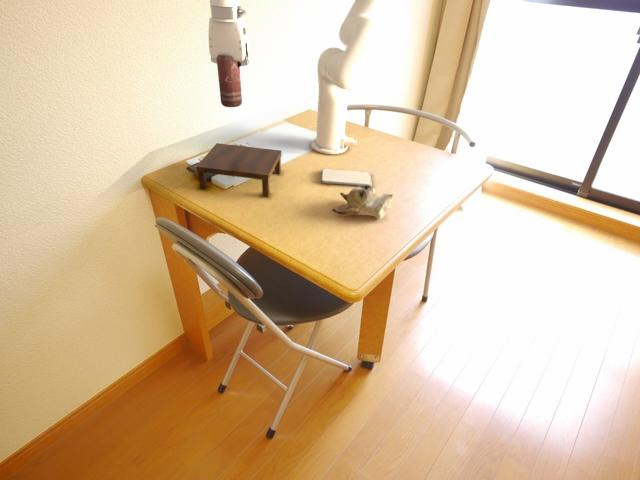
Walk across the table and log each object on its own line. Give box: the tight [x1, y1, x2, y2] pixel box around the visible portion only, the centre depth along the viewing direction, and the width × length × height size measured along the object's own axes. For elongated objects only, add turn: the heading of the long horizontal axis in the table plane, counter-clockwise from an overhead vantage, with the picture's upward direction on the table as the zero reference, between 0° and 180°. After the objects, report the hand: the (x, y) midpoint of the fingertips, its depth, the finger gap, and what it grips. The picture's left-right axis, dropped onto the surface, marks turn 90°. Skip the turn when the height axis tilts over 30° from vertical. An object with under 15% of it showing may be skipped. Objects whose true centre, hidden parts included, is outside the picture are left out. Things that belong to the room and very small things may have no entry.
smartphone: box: [320, 168, 373, 187], centre depth 123 cm, size 8×1×15 cm
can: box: [216, 55, 243, 108], centre depth 116 cm, size 6×6×14 cm
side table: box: [195, 142, 282, 198], centre depth 117 cm, size 20×16×7 cm
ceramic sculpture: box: [330, 185, 394, 221], centre depth 106 cm, size 11×9×15 cm
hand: (231, 85), depth 117 cm, fingers closed
